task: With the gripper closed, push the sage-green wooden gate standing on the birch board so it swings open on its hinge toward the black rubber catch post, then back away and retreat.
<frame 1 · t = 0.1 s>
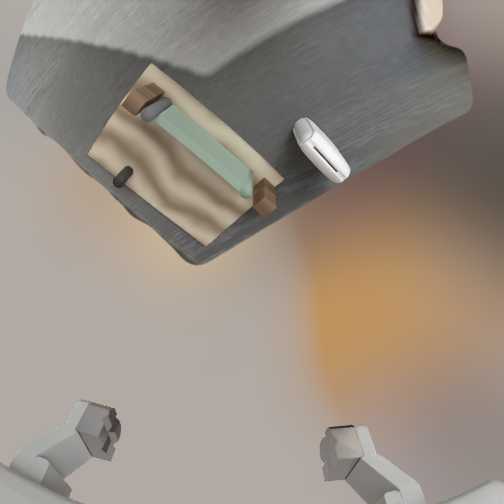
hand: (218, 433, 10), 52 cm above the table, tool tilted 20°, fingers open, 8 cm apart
gate: (202, 145, 49), point 6 cm above the table, hinge at 0.0°
gate frame: (167, 102, 49), on the table
photo printer: (315, 138, 53), on the table
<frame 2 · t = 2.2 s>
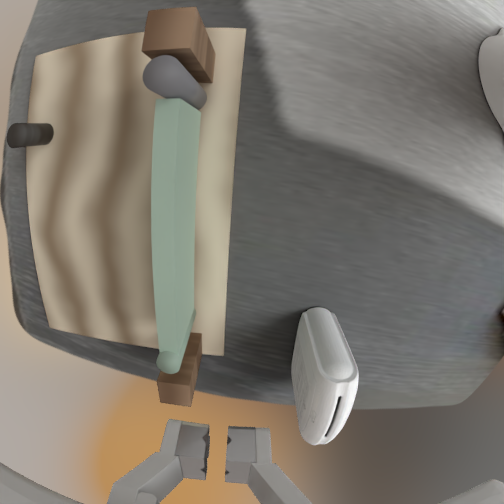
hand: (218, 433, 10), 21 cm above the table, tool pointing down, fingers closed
gate: (173, 224, 22), point 6 cm above the table, hinge at 0.0°
gate frame: (195, 100, 25), on the table
photo printer: (310, 342, 34), on the table
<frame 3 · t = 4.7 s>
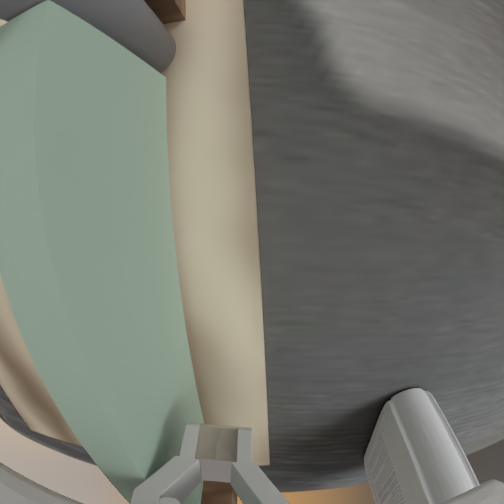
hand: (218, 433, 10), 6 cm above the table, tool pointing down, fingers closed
gate: (126, 356, 9), point 6 cm above the table, hinge at -2.3°, touching gripper
gate frame: (156, 59, 11), on the table
photo printer: (391, 426, 19), on the table
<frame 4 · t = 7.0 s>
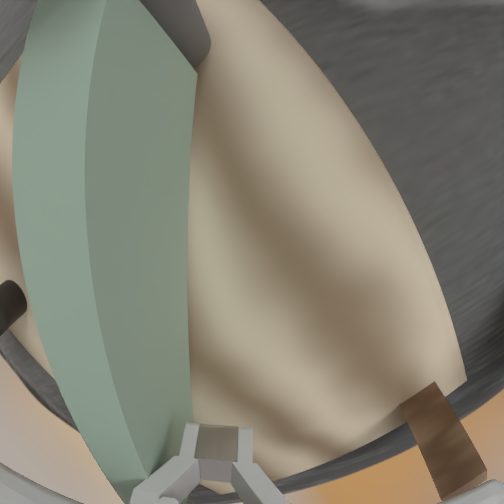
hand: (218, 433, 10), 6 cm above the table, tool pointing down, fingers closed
gate: (134, 354, 8), point 6 cm above the table, hinge at -41.1°, touching gripper
gate frame: (187, 54, 11), on the table
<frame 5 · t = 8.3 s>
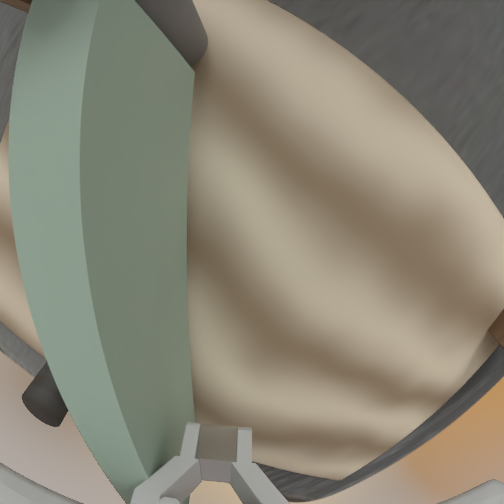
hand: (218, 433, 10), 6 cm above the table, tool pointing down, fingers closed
gate: (134, 353, 8), point 6 cm above the table, hinge at -60.0°, touching gripper
gate frame: (184, 52, 11), on the table
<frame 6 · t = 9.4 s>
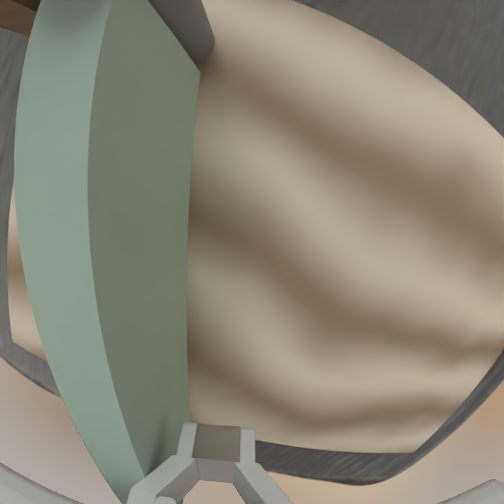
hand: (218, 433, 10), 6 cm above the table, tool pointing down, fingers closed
gate: (133, 352, 8), point 6 cm above the table, hinge at -73.6°, touching gripper
gate frame: (190, 52, 11), on the table
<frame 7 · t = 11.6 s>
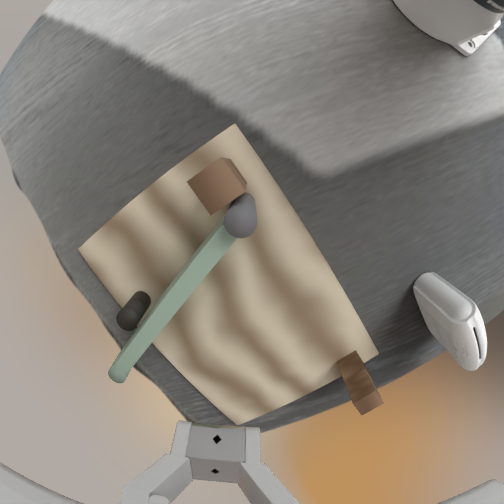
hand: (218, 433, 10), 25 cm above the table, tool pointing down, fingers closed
gate: (175, 294, 28), point 6 cm above the table, hinge at -73.7°
gate frame: (244, 202, 32), on the table
photo printer: (429, 301, 36), on the table
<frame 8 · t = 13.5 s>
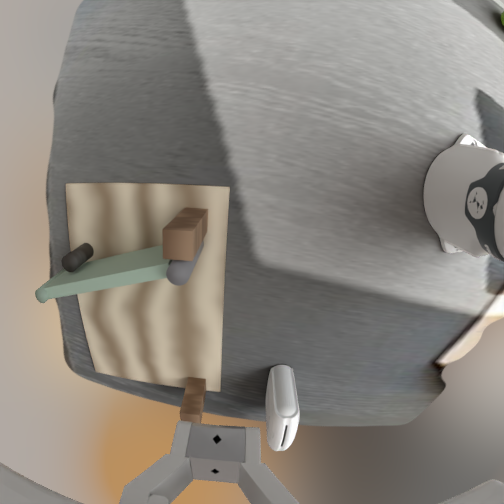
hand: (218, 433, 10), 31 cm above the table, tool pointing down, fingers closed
gate: (111, 272, 35), point 6 cm above the table, hinge at -73.7°
gate frame: (196, 241, 40), on the table
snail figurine: (502, 24, 25), on the table
photo printer: (278, 384, 49), on the table
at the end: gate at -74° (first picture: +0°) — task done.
